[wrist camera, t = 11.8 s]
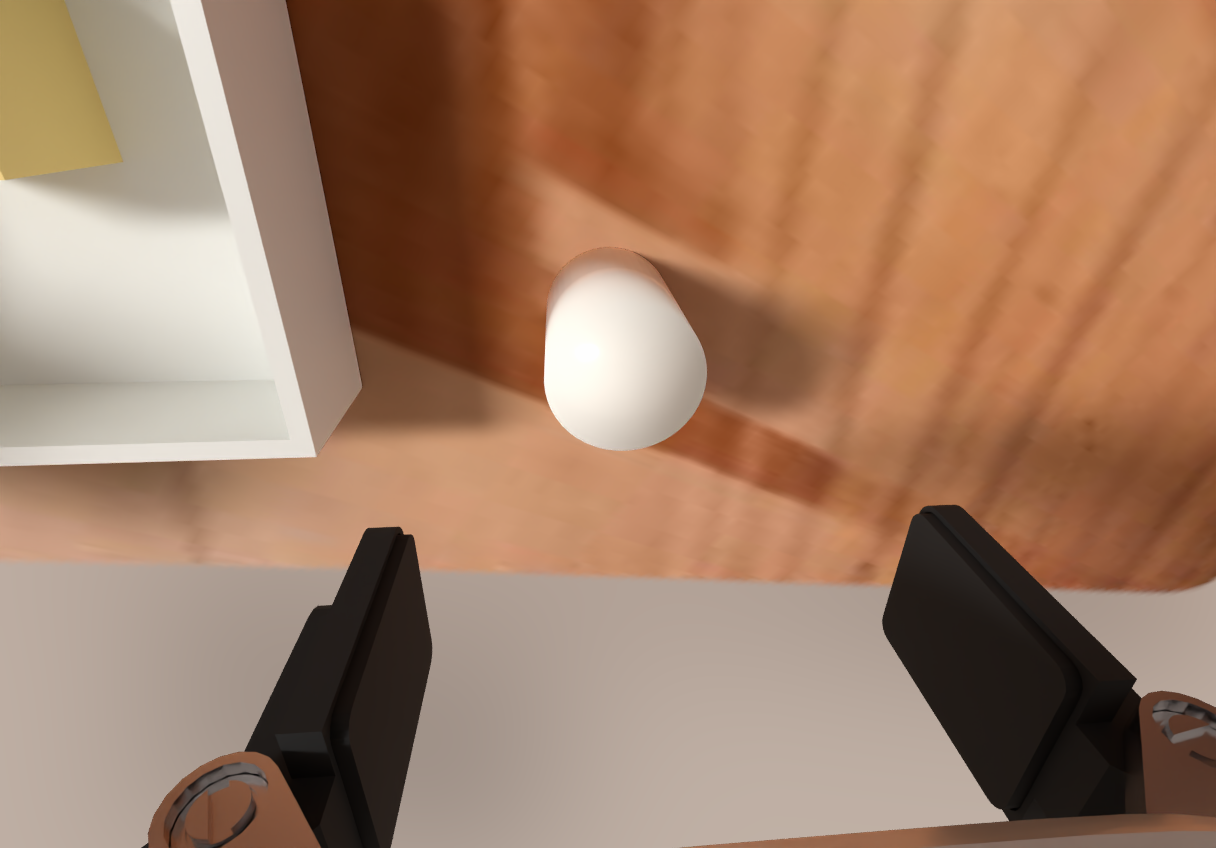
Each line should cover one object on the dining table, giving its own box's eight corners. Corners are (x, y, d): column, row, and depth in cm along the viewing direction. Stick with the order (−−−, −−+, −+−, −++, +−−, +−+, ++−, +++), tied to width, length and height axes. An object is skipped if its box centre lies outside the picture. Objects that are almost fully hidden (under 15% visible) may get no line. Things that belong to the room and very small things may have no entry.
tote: (269, -82, 18) (163, -148, 13) (362, 387, 25) (316, 457, 21) (-381, -103, 17) (-766, -185, 12) (-87, 396, 24) (-250, 473, 19)
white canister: (673, 246, 24) (714, 299, 18) (665, 365, 26) (700, 448, 20) (544, 247, 23) (540, 301, 17) (548, 367, 26) (547, 453, 20)
